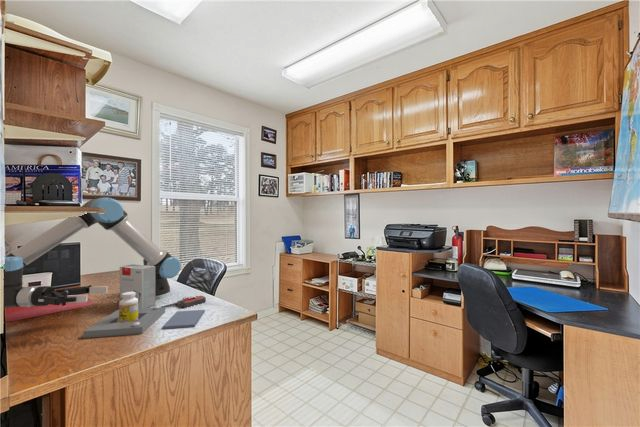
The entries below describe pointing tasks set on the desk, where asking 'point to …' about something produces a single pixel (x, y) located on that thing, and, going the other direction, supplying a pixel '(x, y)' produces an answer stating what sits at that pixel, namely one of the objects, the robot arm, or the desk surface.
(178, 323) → the mat
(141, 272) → the hard drive box
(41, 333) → the desk surface
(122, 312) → the supplement bottle
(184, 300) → the walkie-talkie
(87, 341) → the desk surface
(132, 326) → the frame
